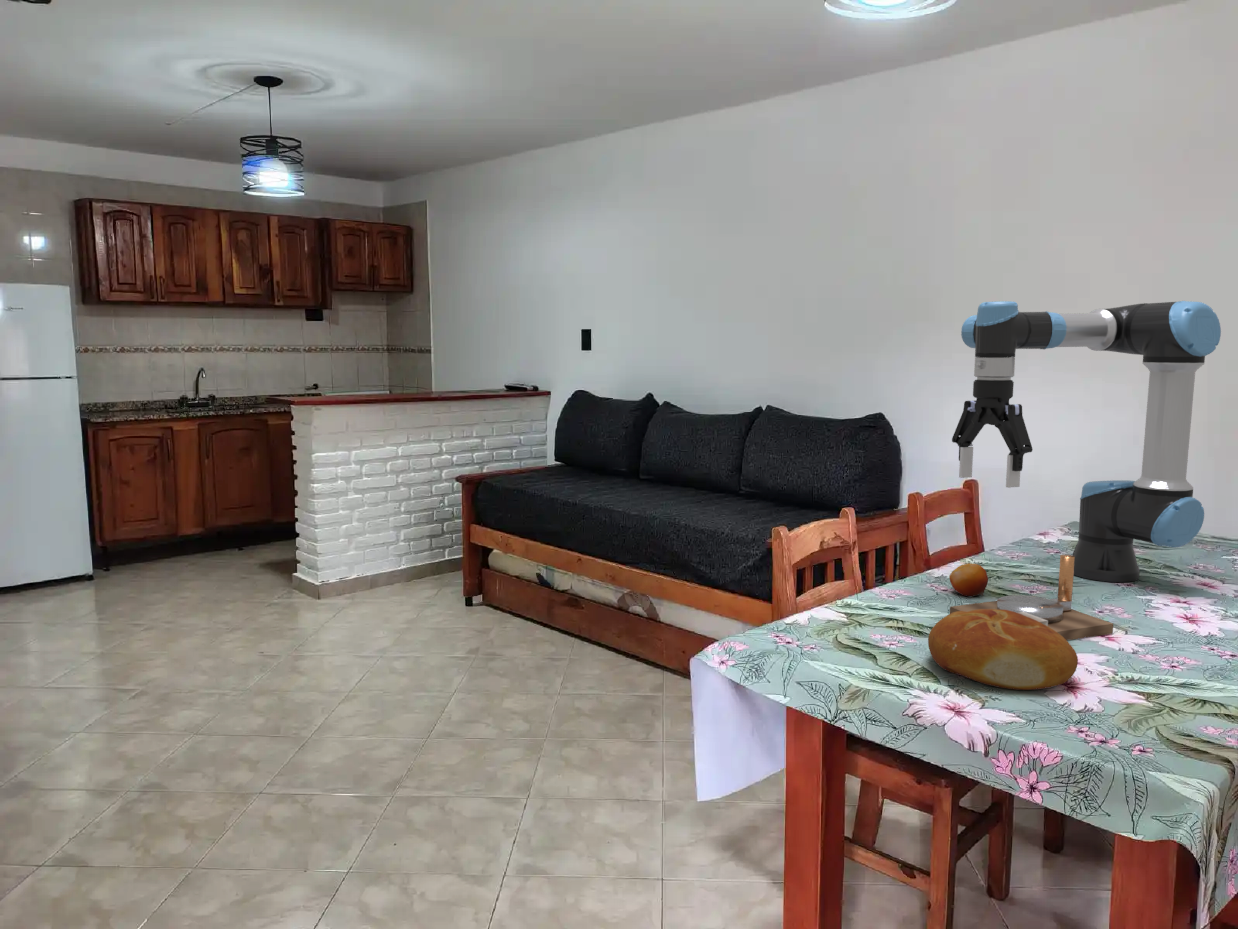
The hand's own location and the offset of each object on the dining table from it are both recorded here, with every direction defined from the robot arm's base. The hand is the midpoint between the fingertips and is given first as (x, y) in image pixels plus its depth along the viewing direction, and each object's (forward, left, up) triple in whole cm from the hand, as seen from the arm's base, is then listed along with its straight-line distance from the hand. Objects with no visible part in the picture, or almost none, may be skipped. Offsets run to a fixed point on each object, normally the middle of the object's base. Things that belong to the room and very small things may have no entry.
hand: (988, 482), depth 181 cm
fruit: (-7, -12, -28) cm, 31 cm away
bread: (+21, +28, -28) cm, 45 cm away
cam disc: (-5, +10, -25) cm, 28 cm away
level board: (-3, +10, -28) cm, 29 cm away
